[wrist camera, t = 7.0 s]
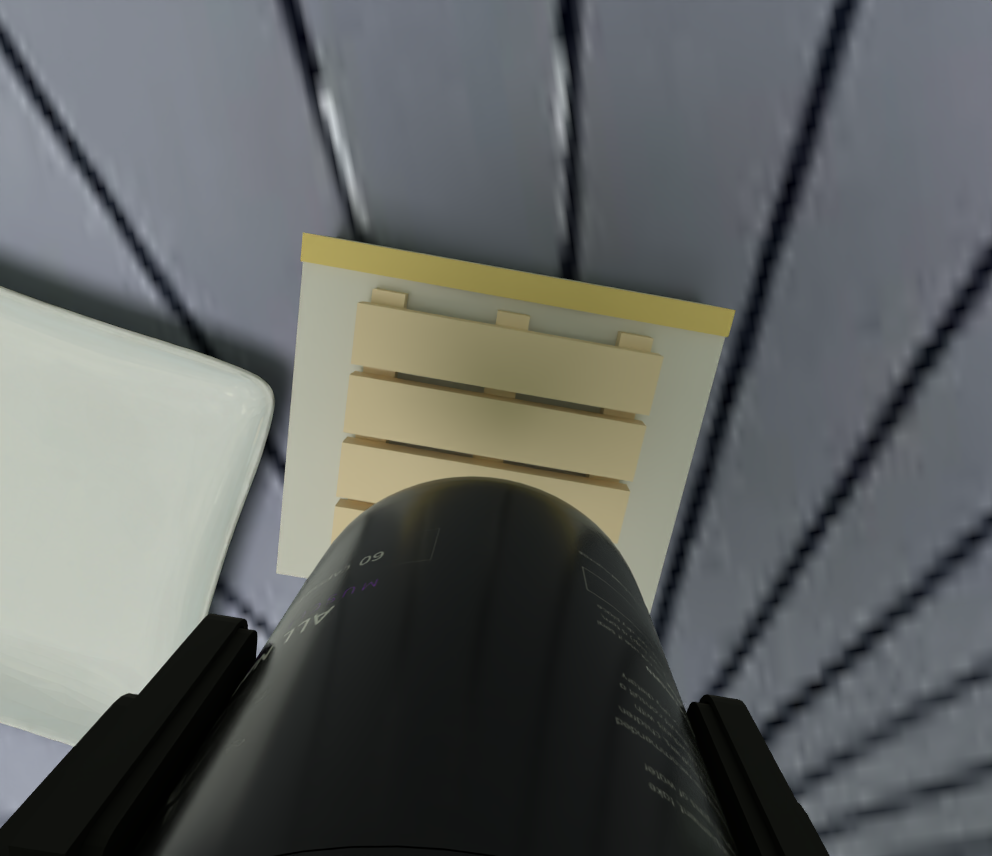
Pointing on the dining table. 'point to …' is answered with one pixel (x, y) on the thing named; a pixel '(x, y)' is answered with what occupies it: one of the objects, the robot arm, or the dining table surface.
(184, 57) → the dining table surface
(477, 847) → the supplement bottle
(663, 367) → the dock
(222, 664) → the robot arm
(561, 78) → the dining table surface
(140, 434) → the salad plate
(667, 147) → the dining table surface
